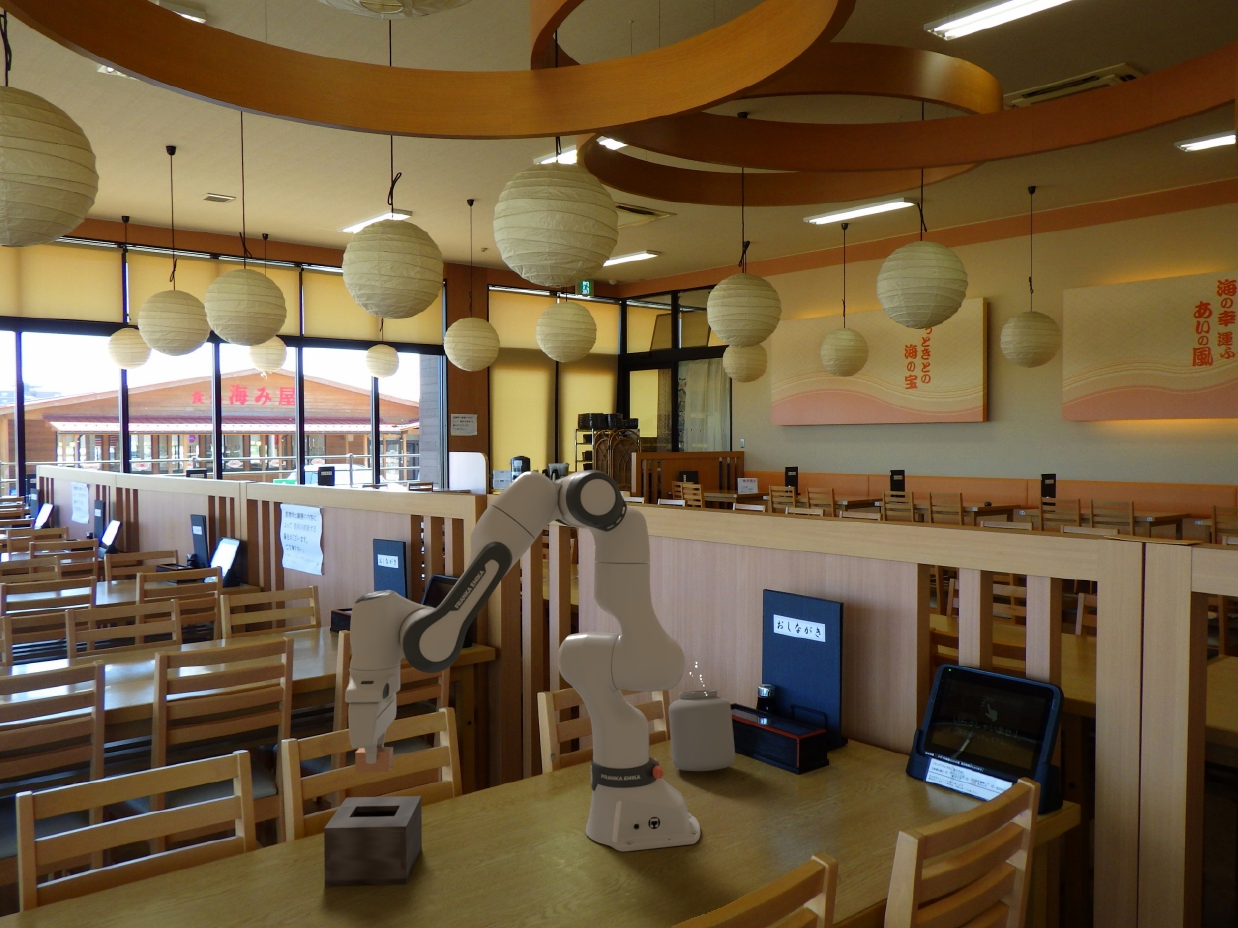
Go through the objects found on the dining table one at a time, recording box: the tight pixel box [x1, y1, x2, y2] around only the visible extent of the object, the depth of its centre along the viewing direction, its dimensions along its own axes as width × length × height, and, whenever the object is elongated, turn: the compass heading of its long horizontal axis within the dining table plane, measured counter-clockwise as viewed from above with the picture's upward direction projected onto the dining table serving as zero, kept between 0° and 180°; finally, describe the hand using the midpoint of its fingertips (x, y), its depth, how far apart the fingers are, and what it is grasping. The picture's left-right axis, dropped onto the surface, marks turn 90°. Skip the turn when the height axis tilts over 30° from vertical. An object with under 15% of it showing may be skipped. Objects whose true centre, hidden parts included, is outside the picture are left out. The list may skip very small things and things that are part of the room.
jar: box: [668, 661, 736, 772], centre depth 210 cm, size 19×15×25 cm
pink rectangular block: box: [354, 746, 394, 773], centre depth 159 cm, size 6×3×4 cm, turn 92°
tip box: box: [323, 795, 423, 887], centre depth 159 cm, size 14×14×10 cm
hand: (374, 758), depth 159 cm, fingers closed on pink rectangular block, 3 cm apart
